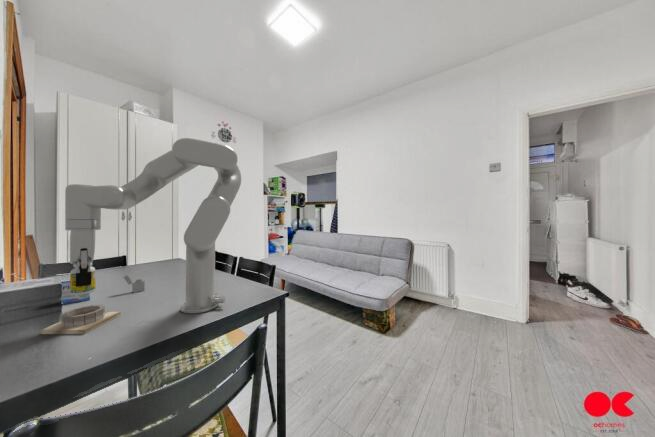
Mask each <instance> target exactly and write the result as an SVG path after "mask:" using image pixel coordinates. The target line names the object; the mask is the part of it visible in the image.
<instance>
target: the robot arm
mask: <svg viewBox="0 0 655 437" xmlns="http://www.w3.org/2000/svg"><path fill="white" fill-rule="evenodd" d="M171 148H172V149H171V150H170V151H169V150H168V151H167V152H166V153H163V154H162V155H160V156H158V157H157V158H154V159H153V160H151V161H149V162H147V164H145V166H144V168H143V170H142V172H141V173H140V174H139V175H138V176H137V177H135V178H134V179H132V180H130V181H129V182H128V183H125V184H124V185H122V186H118V185H90V184H76V183H74V184H68V185H66V187H65V190H64V192H65V193H64V194H65V195H64V196H65V199H64V201H65V202H64V203H65V204H64V206H65V209H64V210H65V212H64V215H65V216H64V218H65V219H64V221H65V222H64V223H65V224H64V226H65V228H64V229H65V231H70V233H69V263H70V264H71V265H73V263H74V262H77V273H76V287H80V286H86V285H91V272H90V263H91V262H92V263H93V262H94V259H95V253H96V252H95V251H96V250H95V249H96V231H99V230H101V226H102V225H101V220H102V218H101V217H102V216H101V215H102V212H101V211H102V209H105V210H128V209H131V208H133V207H135V206H136V205H138V204H139V203H141V202H144V201H145V200H147V199H149V198H150V197H151V196H153V195H154V194H156V193H157V192H158V191H160V190H162V189H163V188H164V187H166V186H167V185H168V184H170V183H172V182H174V181H175V180H176V179H179V177H182V176H183V175H185V174H187V173H189V172H190V171H192V170H193V169H195V168H197V167H198V166H201V167H208V168H213V169H214V170H215V171H216V172H217V179H216V181H215V183H214V185H213V187H212V189H211V191H210V193H209V194H208V195H207V197H205V198H204V199H203V201H202V202H201V203H200V205H199V206H198V209H197V210H196V213H195V214H194V215H193V218H192V219H191V221H190V223H189V225H188V227H186V229H185V232H184V234H183V243H184V245H185V246H186V247H185V302H184V303H182V304H181V305H180V312H182V313H185V314H201V313H206V312H210V311H211V310H214V309H216V308H217V307H219V305H220V304H225V302H226V297H225V296H224V295H218V291H216V290H215V289H216V286H215V285H216V282H215V281H216V279H215V278H216V241H217V239H218V237H219V236H220V234H221V232H222V230H223V228H224V226H225V224H226V223H227V221H228V218H229V217H230V214H231V206H232V205H233V202H234V200H235V198H236V196H237V195H238V192H239V190H240V187H241V184H242V173H241V170H240V168H239V166H238V165H237V164H238V155H237V153H236V151H235V150H234V149H233V148H232V147H230V146H228V145H226V144H222V143H221V144H220V143H217V142H211V141H207V140H206V141H205V140H202V139H196V138H190V137H183V138H180V139H177V140H176V141H175V142H174V143H173V145H172V147H171ZM87 260H88V262H87ZM79 261H81V262H79Z"/></svg>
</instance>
